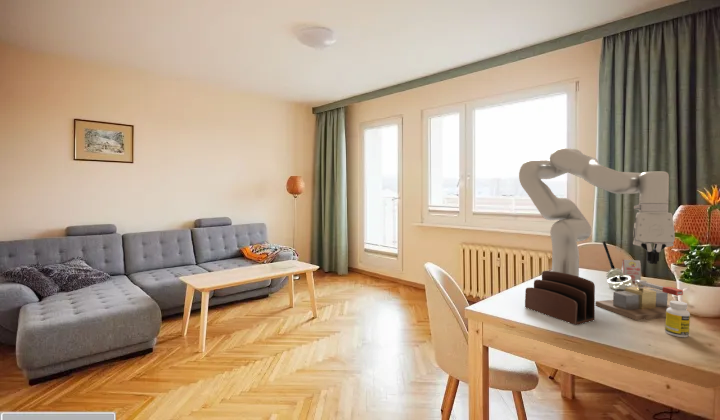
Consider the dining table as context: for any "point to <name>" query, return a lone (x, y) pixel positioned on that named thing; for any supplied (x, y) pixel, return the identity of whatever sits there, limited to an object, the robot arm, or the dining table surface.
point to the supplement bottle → (677, 319)
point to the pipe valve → (639, 298)
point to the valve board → (635, 311)
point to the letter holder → (563, 297)
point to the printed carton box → (632, 269)
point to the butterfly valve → (616, 275)
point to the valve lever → (660, 287)
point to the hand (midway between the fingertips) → (652, 263)
